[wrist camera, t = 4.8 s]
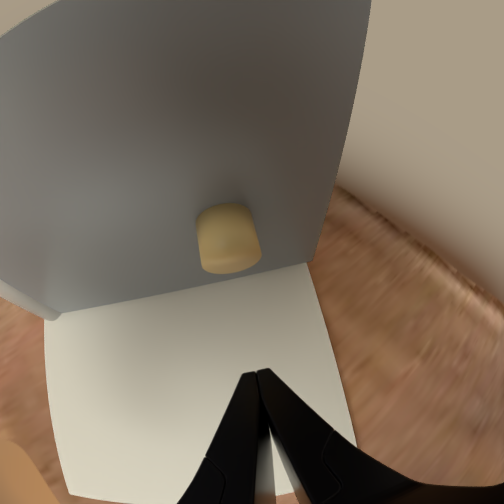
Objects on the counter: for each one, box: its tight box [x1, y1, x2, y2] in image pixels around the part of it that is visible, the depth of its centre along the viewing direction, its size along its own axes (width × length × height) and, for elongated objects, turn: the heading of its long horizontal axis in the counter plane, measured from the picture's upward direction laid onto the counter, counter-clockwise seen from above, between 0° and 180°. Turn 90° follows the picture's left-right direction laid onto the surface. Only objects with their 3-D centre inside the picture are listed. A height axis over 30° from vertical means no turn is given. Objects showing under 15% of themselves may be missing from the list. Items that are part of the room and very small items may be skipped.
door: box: [0, 0, 371, 321], centre depth 9 cm, size 3×17×14 cm, turn 102°
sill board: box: [44, 262, 357, 504], centre depth 14 cm, size 14×17×1 cm
